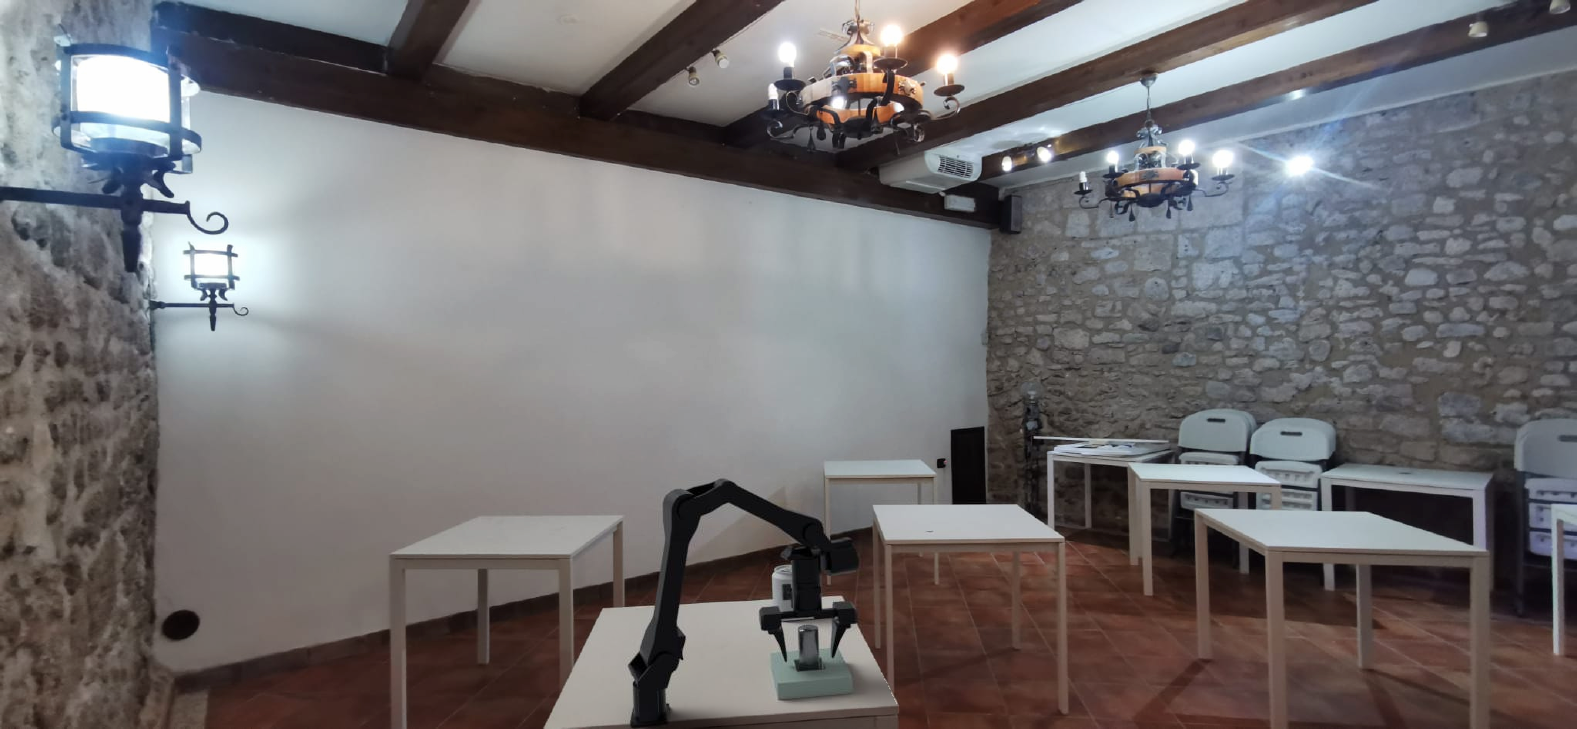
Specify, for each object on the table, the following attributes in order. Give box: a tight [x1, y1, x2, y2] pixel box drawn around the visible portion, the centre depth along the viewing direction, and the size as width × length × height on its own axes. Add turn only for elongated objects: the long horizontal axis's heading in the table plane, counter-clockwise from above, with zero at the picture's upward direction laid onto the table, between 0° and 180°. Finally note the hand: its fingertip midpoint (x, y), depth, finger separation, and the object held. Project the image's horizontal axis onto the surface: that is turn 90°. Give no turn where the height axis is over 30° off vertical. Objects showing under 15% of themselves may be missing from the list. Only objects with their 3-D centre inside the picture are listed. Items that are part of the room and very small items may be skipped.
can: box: [771, 564, 793, 612], centre depth 173 cm, size 8×8×12 cm
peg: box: [797, 624, 820, 672], centre depth 138 cm, size 4×4×10 cm
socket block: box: [770, 647, 854, 701], centre depth 138 cm, size 14×14×3 cm
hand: (809, 659), depth 138 cm, fingers open, 9 cm apart
